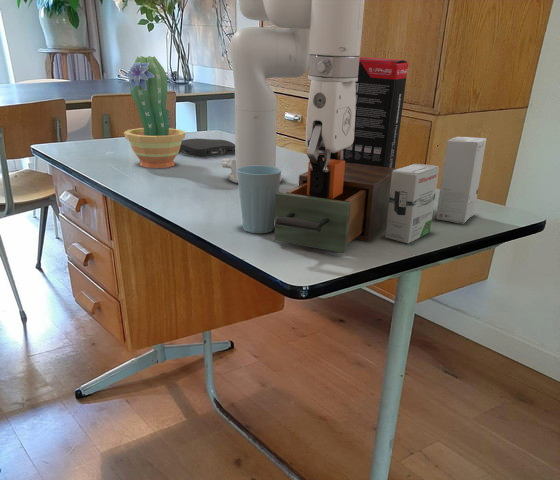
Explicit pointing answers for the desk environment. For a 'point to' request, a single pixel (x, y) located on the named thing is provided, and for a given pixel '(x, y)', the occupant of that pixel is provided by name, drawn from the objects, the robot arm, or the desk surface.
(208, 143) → the media streaming box
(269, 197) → the cup
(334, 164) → the plain orange cube
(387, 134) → the graphics card box
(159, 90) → the potted cactus
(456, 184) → the cosmetic box
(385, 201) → the cabinet
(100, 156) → the desk surface
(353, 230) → the two-tone handled box
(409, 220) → the ink box
